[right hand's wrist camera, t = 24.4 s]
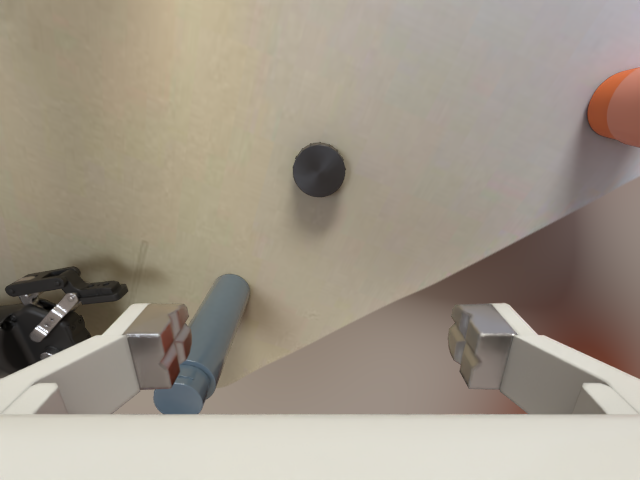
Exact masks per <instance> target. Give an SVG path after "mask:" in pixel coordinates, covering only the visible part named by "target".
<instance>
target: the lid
mask: <svg viewBox="0 0 640 480" xmlns="http://www.w3.org/2000/svg"><path fill="white" fill-rule="evenodd" d="M295 159H296V160H295V163H294V165H293V175H294V179H295V182H296V184H297V185H298V187H299V188H300V189H301V190H302V191H303V192H304V193H306V194H308V195H310V196H314V197H325V196H328V195H330V194H332V193H334V192H335V191H336V190H337V189H338V188H339V187H340V186H341V184H342V182H343V180H344V177H345V170H346V169H345V165H344V162H343V157H341V155H340V154H339V152H338V150H336V149H335V148H334V147H332V146H330V144H329V145H328V144H325V143H321V142H320V143H313V144H311V143H310V145H308V146H306V147H305V148H302V150H301V151H300V153H299V154H298V156H296V158H295Z"/></svg>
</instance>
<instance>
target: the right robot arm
mask: <svg viewBox="0 0 640 480" xmlns="http://www.w3.org/2000/svg"><path fill="white" fill-rule="evenodd" d="M188 317H189V315H188V310H187V307H186V306H185V305H184V304H157V303H152V304H150V303H135V304H131V305H130V306H129V307H128V308H127V310H126V311H125V312H124V313H123V314H122V315H121V316H120V317H119V318H118V319H117V320H116V321H115V322H114V323H113V324H112V325H111V326H110V327H109V328H108V329H107V330H106V331H105V332H104V333H103V334H102V335H96V336H93V337H91V338H89V339H87V340H85V341H83V342H80V343H78V344H76V345H74V346H72V347H69V348H67V349H65V350H63V351H61V352H59V353H56V354H54V355H52V356H50V357H48V358H45V359H43V360H41V361H39V362H37V363H35V364H32V365H30V366H28V367H26V368H24V369H21V370H19V371H17V372H15V373H13V374H11V375H8V376H6V377H4V378H2V379H0V480H640V379H638V378H636V377H633V376H631V375H629V374H627V373H625V372H623V371H620V370H618V369H616V368H614V367H612V366H610V365H607V364H605V363H603V362H601V361H599V360H597V359H594V358H592V357H590V356H588V355H586V354H583V353H581V352H579V351H577V350H575V349H573V348H570V347H568V346H566V345H564V344H562V343H559V342H557V341H555V340H553V339H551V338H549V337H547V336H544V335H538V334H537V333H536V332H535V331H534V330H533V329H532V328H531V327H530V326H529V325H528V324H527V323H526V322H525V321H524V320H523V319H522V318H521V317H520V316H519V315H518V314H517V313H516V312H515V311H514V309H513V308H512V307H511V306H510V305H508V304H506V303H493V304H459V305H454V307H453V309H452V315H451V317H452V319H453V320H454V322H455V323H454V324H453V325H452V326H451V328H449V333H448V346H449V350H450V353H451V356H452V358H453V360H454V361H456V362H457V363H459V364H460V365H461V366H460V373H461V375H462V377H463V379H464V380H465V382H466V384H467V386H468V388H469V389H493V390H500V392H501V393H503V394H504V395H505V396H506V397H508V398H509V399H510V400H511V401H513V402H514V403H515V404H516V405H518V406H519V407H520V408H522V409H523V410H524V411H525V412H526V413H528V414H112V413H114V412H115V411H116V410H117V409H119V408H120V407H121V406H122V405H124V404H125V403H126V402H127V401H129V400H130V399H131V398H132V397H134V396H135V395H136V394H137V393H139V392H140V390H146V389H171V388H172V386H173V384H174V382H175V380H176V379H177V377H178V375H179V373H180V366H179V365H180V364H181V363H183V362H184V361H186V360H187V358H188V356H189V354H190V350H191V345H192V333H191V328H190V327H189V326H188V325H187V324H186V323H185V322H186V320H187V319H188Z"/></svg>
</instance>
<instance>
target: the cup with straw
mask: <svg viewBox="0 0 640 480" xmlns="http://www.w3.org/2000/svg"><path fill="white" fill-rule="evenodd" d="M588 121H589V124H590V126H591V128H592V129H593V130H594V131H595V132H596V133H597V134H599V135H601V136H604V137H608V138H612V139H616V140H618V141H620V142H622V143H624V144H627V145H631V146H636V147H640V67H639V68H635V69H631V70H626V71H623V72H620V73H617V74H615V75H613V76H611V77H609V78H608V79H607V80H605V81H604V82H603V83H602V84H601V85H600V86H599V87H598V88H597V90H596V91H595V92H594V94H593V96H592V98H591V100H590V103H589V106H588Z"/></svg>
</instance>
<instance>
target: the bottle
mask: <svg viewBox="0 0 640 480" xmlns="http://www.w3.org/2000/svg"><path fill="white" fill-rule="evenodd" d="M249 296H250V288H249V286H248V284H247V282H246V281H245V280H244V279H243V278H241V277H239V276H237V275H233V274H226V275H222V276H220V277H219V278H217V279H216V280H215V282H214V283H213V285H212V287H211V288H210V290H209V292H208V293H207V295H206V297H205V298H204V300H203V302H202V303H201V305H200V307H199V308H198V310H197V312H196V313H195V315H194V317H193V318H192V320H191V322H190V323H189V325H188V326H189V327H190V328H191V333H192V345H191V350H190V354H189V356H188V358H187V360H186V361H184V362H183V363H181V364H180V365H179V366H180V373H179V375H178V377H177V379H176V380H175V382H174V384H173V386H172V388H171V389H155V391H154V403H155V406H156V408H157V409H158V410H159V411H160V412H161V413H162V414H199V413H200V411H201V410H202V407H203V405H204V402H205V400H206V399H208V398H209V397H210V396H211V395H212V394H213V393H214V391H215V388H216V386H217V383H218V380H219V378H220V375H221V372H222V369H223V367H224V364H225V361H226V359H227V356H228V353H229V351H230V348H231V345H232V342H233V340H234V337H235V334H236V332H237V329H238V326H239V323H240V321H241V318H242V315H243V313H244V310H245V307H246V305H247V302H248V299H249Z"/></svg>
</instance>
